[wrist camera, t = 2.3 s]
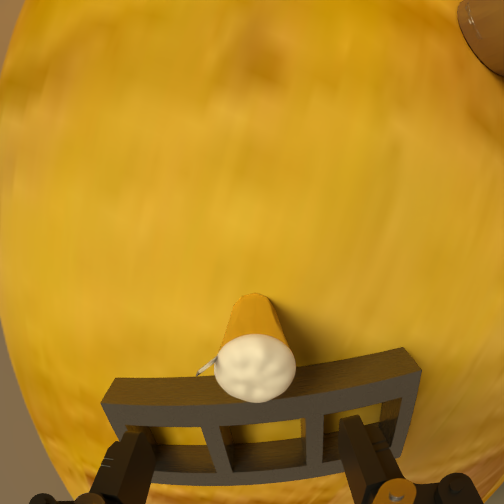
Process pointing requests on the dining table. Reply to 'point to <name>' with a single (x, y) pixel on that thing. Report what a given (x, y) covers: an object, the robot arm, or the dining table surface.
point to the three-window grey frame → (264, 419)
